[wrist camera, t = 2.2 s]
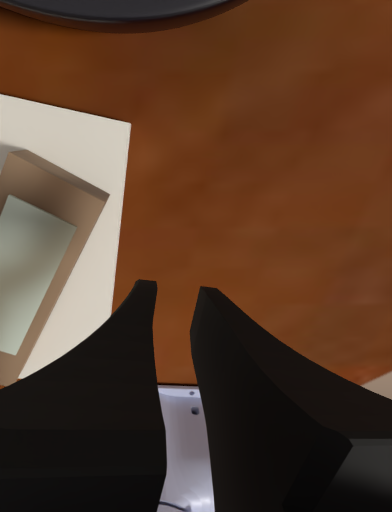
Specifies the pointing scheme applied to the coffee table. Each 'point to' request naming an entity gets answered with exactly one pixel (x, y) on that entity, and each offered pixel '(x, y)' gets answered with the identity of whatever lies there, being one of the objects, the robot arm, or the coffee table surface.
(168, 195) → the coffee table surface
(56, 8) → the round tray
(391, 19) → the coffee table surface
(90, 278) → the wall board
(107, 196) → the frame
